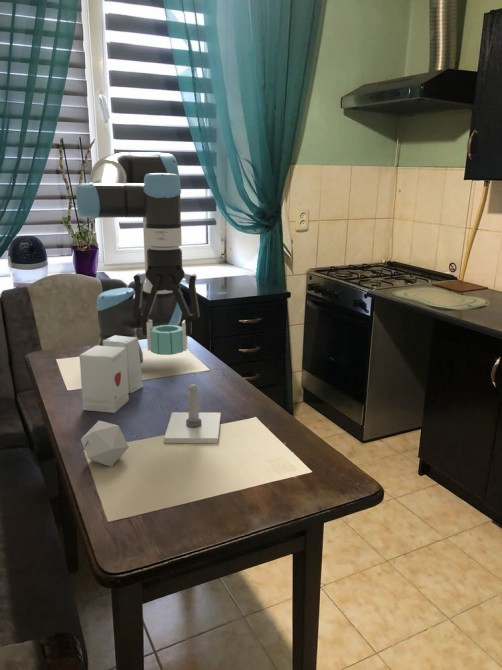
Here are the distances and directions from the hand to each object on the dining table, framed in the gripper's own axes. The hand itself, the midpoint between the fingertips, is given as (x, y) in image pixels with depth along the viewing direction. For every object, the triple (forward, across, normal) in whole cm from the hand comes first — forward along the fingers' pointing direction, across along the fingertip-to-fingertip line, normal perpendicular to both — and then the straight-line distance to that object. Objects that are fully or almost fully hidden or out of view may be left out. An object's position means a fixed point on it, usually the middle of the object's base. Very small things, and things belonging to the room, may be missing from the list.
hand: (167, 348), depth 123 cm
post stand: (+20, +6, 0) cm, 20 cm away
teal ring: (0, 0, 0) cm, 0 cm away
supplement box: (+20, -19, +13) cm, 30 cm away
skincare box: (+20, -17, +25) cm, 36 cm away
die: (+20, -11, -16) cm, 28 cm away
